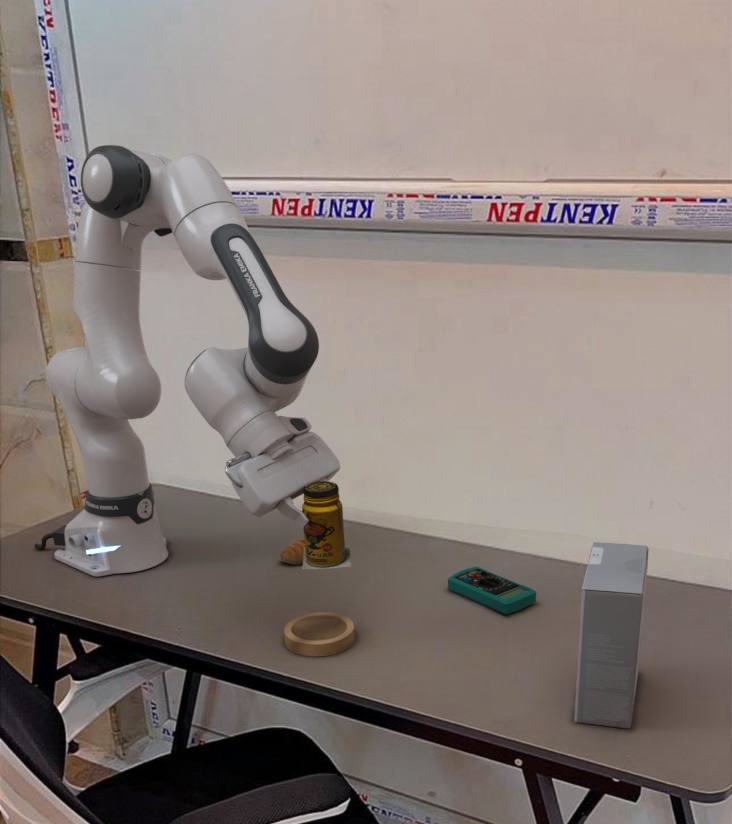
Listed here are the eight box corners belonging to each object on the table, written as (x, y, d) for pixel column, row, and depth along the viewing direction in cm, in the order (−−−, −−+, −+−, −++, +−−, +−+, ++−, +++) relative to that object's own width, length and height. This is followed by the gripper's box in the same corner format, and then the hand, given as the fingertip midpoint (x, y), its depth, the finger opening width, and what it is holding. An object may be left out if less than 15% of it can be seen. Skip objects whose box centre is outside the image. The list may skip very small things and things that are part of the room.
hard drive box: (584, 667, 142) (593, 540, 133) (638, 673, 140) (651, 544, 131) (572, 723, 128) (581, 586, 120) (632, 730, 126) (645, 592, 117)
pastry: (293, 570, 177) (291, 551, 176) (272, 560, 182) (271, 541, 180) (334, 556, 182) (332, 537, 181) (313, 547, 187) (311, 528, 186)
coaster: (270, 646, 151) (269, 634, 150) (311, 618, 159) (310, 606, 158) (329, 663, 146) (328, 650, 145) (367, 633, 154) (367, 620, 153)
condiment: (302, 570, 145) (296, 494, 140) (303, 549, 153) (298, 476, 148) (351, 568, 146) (347, 492, 140) (350, 546, 153) (346, 473, 148)
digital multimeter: (474, 577, 171) (475, 562, 170) (537, 604, 161) (538, 588, 160) (444, 590, 168) (444, 574, 166) (506, 618, 157) (507, 601, 156)
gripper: (230, 450, 136) (292, 527, 136) (312, 415, 151) (368, 484, 151) (208, 477, 140) (269, 551, 140) (291, 440, 155) (345, 506, 155)
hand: (321, 516), depth 145 cm, fingers closed on condiment, 6 cm apart
